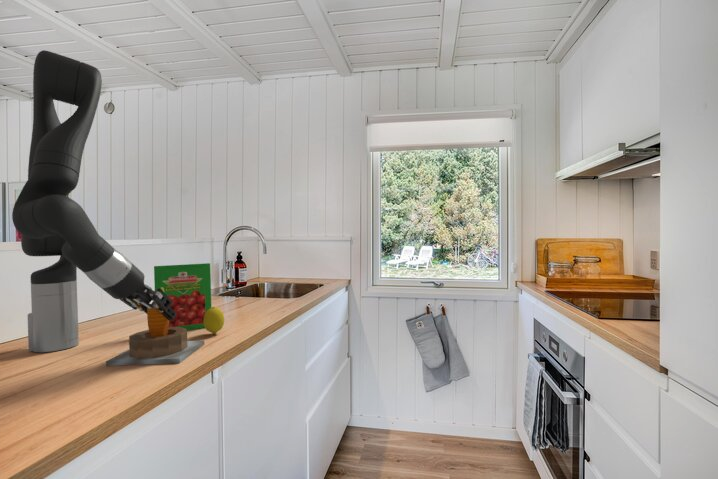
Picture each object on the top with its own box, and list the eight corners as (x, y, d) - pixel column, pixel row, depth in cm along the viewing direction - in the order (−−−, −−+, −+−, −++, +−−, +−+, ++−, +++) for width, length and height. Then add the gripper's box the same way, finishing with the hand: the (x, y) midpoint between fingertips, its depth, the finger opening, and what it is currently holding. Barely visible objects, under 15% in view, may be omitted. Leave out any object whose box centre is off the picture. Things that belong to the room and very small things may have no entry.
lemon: (217, 337, 101) (216, 308, 101) (199, 336, 102) (199, 308, 102) (228, 331, 106) (227, 304, 106) (211, 331, 107) (210, 304, 107)
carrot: (154, 354, 83) (153, 289, 83) (142, 351, 86) (142, 288, 86) (174, 349, 87) (174, 287, 88) (163, 346, 90) (162, 286, 90)
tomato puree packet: (155, 334, 105) (153, 266, 105) (156, 333, 106) (154, 266, 106) (212, 327, 113) (210, 263, 112) (211, 326, 114) (210, 263, 113)
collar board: (106, 365, 79) (105, 343, 79) (141, 346, 93) (141, 327, 93) (179, 363, 80) (179, 340, 80) (204, 344, 94) (203, 325, 94)
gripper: (148, 259, 77) (195, 305, 88) (104, 259, 82) (154, 302, 94) (124, 288, 72) (178, 332, 83) (80, 286, 78) (135, 328, 89)
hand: (165, 316), depth 88 cm, fingers closed on carrot, 5 cm apart
